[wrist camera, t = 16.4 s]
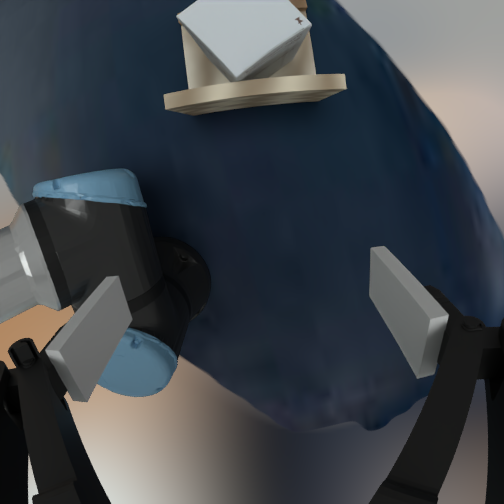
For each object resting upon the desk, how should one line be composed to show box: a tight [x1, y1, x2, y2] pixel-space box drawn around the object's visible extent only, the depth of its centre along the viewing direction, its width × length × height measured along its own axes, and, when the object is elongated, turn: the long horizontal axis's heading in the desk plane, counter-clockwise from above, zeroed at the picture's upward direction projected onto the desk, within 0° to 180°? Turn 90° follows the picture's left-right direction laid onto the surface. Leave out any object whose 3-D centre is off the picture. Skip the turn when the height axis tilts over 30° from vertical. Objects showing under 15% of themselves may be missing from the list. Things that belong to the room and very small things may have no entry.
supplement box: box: [176, 0, 312, 82], centre depth 31 cm, size 10×9×17 cm
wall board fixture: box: [164, 0, 346, 116], centre depth 33 cm, size 18×16×15 cm
